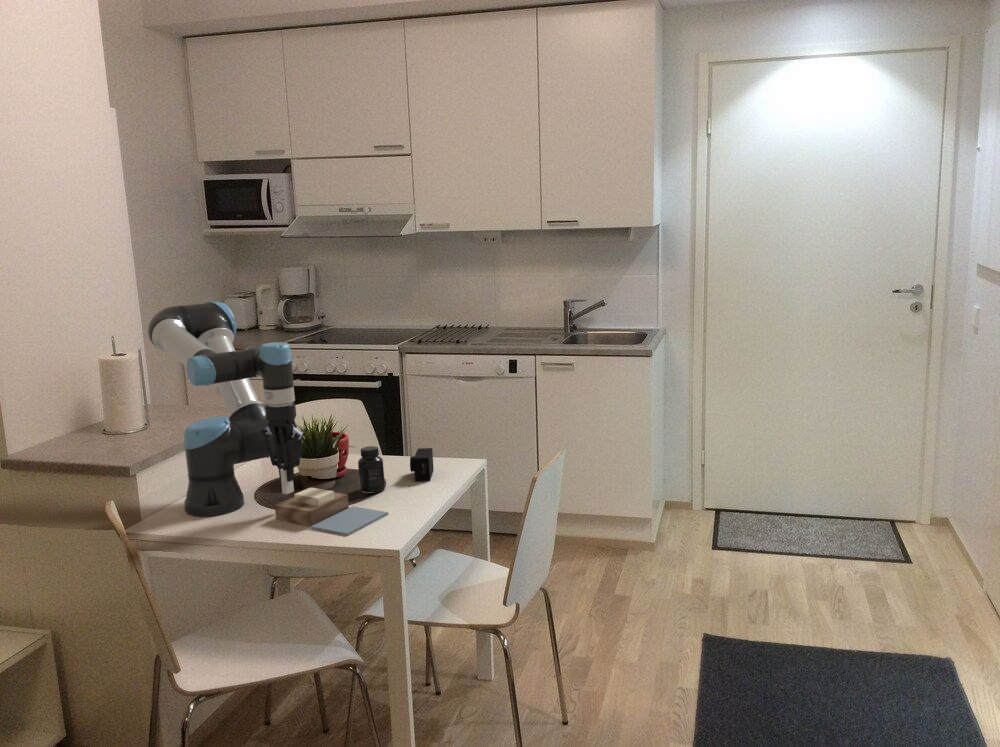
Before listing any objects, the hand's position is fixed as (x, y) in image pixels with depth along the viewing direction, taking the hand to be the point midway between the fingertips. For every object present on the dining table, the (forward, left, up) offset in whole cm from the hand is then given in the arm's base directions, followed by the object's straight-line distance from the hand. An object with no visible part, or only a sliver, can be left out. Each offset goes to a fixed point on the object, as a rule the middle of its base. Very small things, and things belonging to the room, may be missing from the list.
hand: (288, 492), depth 232 cm
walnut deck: (+8, 0, -5) cm, 9 cm away
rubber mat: (+20, 0, -5) cm, 21 cm away
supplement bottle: (+10, +22, -5) cm, 25 cm away
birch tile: (+9, 0, -1) cm, 9 cm away
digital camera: (+15, +38, -5) cm, 42 cm away
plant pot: (-11, +28, -5) cm, 31 cm away
